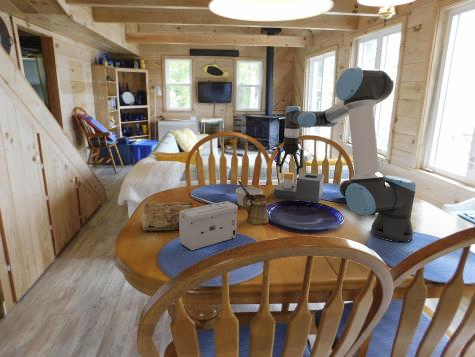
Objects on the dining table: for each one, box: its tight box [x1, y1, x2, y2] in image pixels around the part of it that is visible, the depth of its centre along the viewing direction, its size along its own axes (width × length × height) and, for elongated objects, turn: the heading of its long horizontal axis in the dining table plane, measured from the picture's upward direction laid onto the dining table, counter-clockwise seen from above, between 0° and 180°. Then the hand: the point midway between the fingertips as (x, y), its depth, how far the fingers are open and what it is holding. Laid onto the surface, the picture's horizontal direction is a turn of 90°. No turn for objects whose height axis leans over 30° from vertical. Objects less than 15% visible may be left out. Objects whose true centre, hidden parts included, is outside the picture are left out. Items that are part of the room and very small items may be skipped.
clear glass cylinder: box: [283, 171, 295, 189], centre depth 177 cm, size 4×4×10 cm
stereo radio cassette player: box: [178, 194, 238, 251], centre depth 118 cm, size 21×8×20 cm, turn 127°
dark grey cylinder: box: [338, 179, 376, 215], centre depth 164 cm, size 10×28×10 cm, turn 10°
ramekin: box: [235, 186, 264, 208], centre depth 163 cm, size 13×13×7 cm
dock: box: [273, 171, 325, 203], centre depth 175 cm, size 16×23×12 cm
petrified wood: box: [142, 201, 193, 232], centre depth 132 cm, size 19×13×10 cm
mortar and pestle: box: [237, 180, 269, 226], centre depth 139 cm, size 9×14×18 cm, turn 93°
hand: (288, 179), depth 176 cm, fingers open, 7 cm apart
